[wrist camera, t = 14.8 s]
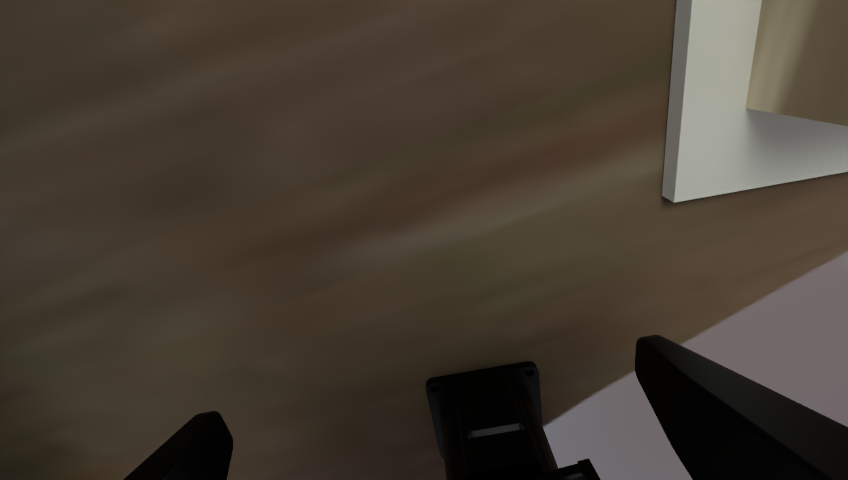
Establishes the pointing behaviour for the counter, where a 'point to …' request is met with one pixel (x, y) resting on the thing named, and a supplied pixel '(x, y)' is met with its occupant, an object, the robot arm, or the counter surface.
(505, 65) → the counter surface
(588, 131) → the counter surface
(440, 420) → the robot arm
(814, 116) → the beige open box
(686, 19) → the post stand
